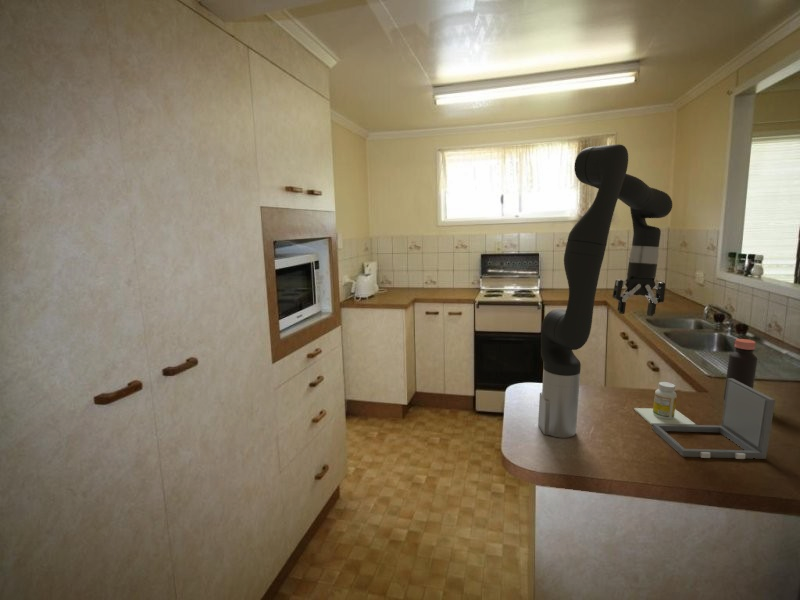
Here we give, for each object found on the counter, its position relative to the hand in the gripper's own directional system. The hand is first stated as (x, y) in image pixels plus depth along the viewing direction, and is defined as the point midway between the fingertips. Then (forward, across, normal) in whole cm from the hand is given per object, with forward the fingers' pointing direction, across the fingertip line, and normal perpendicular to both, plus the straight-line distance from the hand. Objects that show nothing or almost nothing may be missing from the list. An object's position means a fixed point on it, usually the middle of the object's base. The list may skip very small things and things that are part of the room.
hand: (635, 314), depth 129 cm
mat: (+28, +7, -10) cm, 31 cm away
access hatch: (+29, +8, -25) cm, 39 cm away
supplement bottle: (+28, +7, -10) cm, 30 cm away
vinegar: (+26, +36, +2) cm, 45 cm away
